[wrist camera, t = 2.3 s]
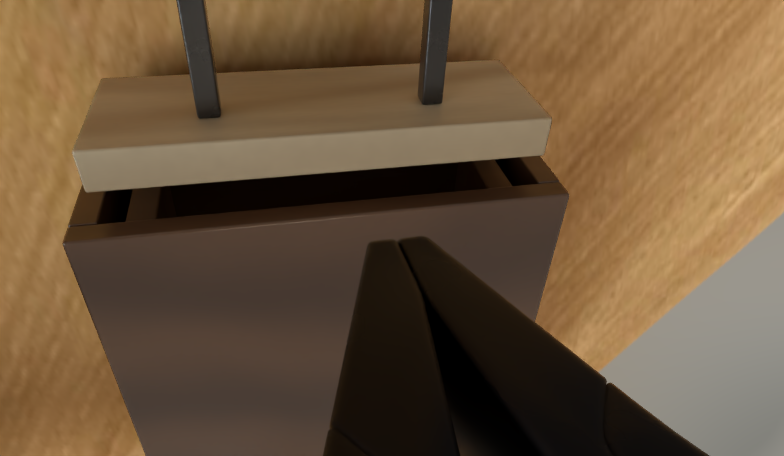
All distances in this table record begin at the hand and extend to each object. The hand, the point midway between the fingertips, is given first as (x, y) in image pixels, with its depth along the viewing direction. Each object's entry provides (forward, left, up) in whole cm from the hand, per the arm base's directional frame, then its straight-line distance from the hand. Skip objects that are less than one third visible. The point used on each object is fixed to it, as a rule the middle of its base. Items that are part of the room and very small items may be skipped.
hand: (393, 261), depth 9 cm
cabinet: (0, -11, -12) cm, 17 cm away
